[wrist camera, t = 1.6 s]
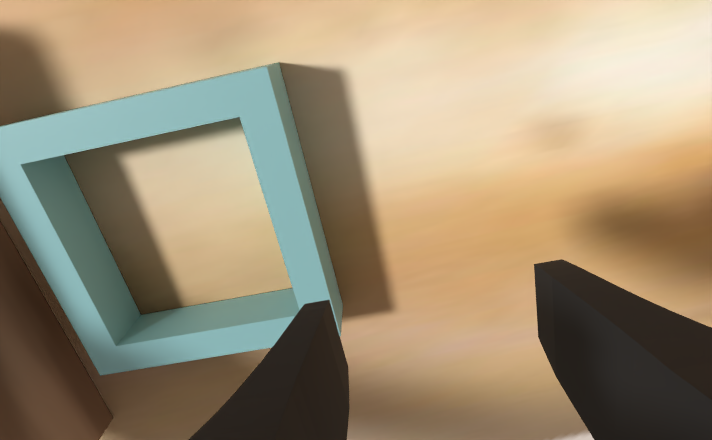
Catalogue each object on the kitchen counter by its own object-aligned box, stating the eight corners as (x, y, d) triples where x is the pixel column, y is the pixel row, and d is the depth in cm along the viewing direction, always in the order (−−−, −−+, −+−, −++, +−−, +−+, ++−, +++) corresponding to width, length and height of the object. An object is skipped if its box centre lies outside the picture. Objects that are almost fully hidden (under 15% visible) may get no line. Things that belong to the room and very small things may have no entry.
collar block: (125, 342, 24) (100, 375, 21) (13, 122, 19) (-35, 134, 17) (342, 305, 22) (340, 336, 20) (278, 62, 18) (266, 66, 16)
